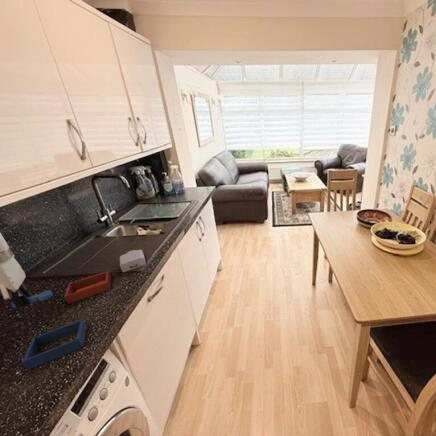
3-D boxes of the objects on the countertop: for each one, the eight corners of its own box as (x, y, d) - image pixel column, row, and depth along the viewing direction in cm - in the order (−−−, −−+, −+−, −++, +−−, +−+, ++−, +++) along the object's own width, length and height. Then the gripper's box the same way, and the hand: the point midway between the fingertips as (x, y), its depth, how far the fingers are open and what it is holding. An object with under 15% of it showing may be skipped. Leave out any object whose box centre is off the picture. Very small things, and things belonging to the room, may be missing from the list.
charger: (143, 251, 121) (146, 265, 110) (122, 258, 117) (123, 273, 106) (140, 243, 119) (143, 257, 108) (118, 250, 115) (119, 264, 104)
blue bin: (29, 371, 67) (22, 362, 65) (39, 346, 74) (32, 337, 72) (83, 348, 72) (78, 339, 71) (87, 327, 80) (82, 318, 78)
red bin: (69, 304, 90) (64, 296, 88) (73, 290, 97) (68, 283, 95) (110, 290, 96) (106, 282, 94) (111, 278, 103) (108, 270, 101)
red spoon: (76, 296, 93) (75, 293, 92) (78, 291, 96) (76, 288, 95) (106, 286, 97) (104, 283, 97) (107, 282, 100) (105, 279, 99)
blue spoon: (12, 310, 77) (9, 306, 77) (16, 303, 80) (14, 299, 79) (51, 297, 82) (49, 294, 81) (54, 291, 85) (52, 288, 84)
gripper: (-12, 250, 77) (18, 294, 84) (-39, 275, 64) (-1, 324, 72) (20, 243, 80) (46, 286, 88) (0, 265, 68) (32, 313, 75)
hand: (24, 303), depth 80 cm, fingers closed on blue spoon, 1 cm apart
